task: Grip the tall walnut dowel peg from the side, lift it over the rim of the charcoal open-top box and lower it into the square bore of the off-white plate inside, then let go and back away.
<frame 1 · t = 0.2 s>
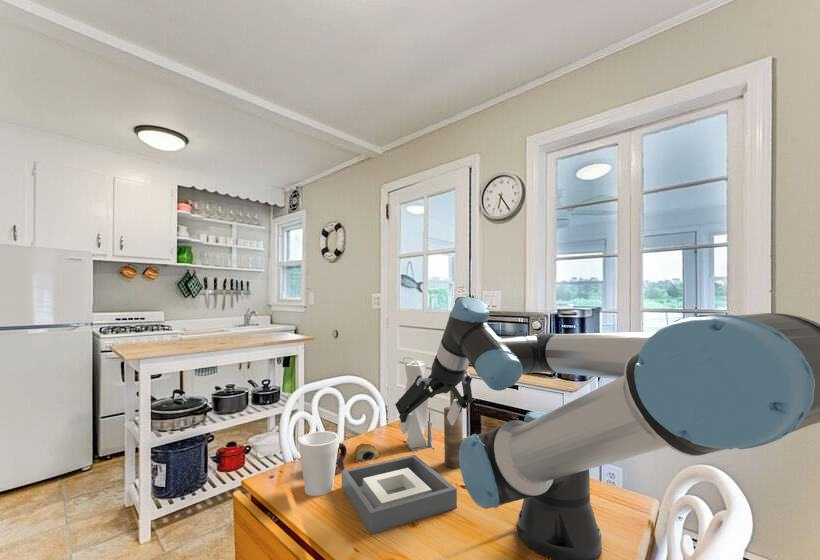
hand: (426, 425, 94), 15 cm above the table, tool tilted 35°, fingers open, 13 cm apart
foam cup: (318, 493, 90), on the table
pastry: (365, 458, 110), on the table
walnut peg: (453, 468, 103), on the table
bore plate: (396, 497, 86), resting on open box
open box: (396, 501, 86), on the table
skyscraper: (416, 446, 118), on the table
pottery mug: (329, 472, 101), on the table
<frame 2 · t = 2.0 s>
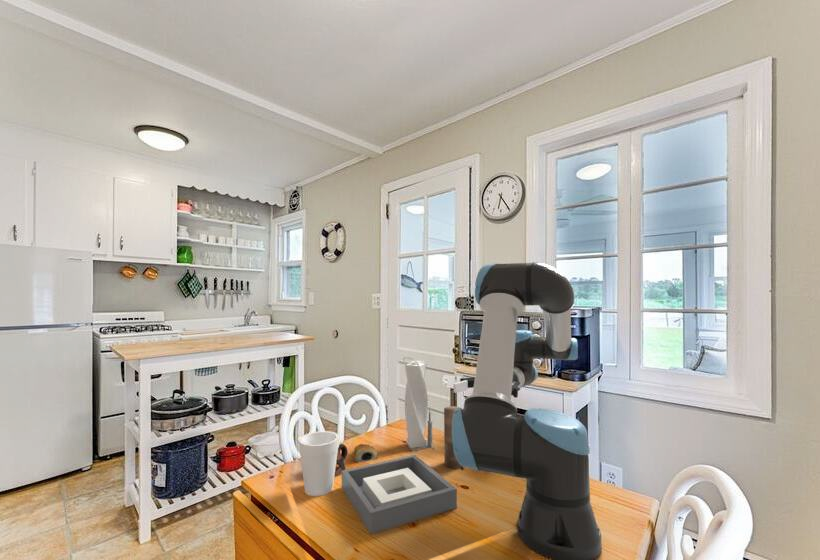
hand: (472, 392, 111), 19 cm above the table, tool horizontal, fingers open, 13 cm apart
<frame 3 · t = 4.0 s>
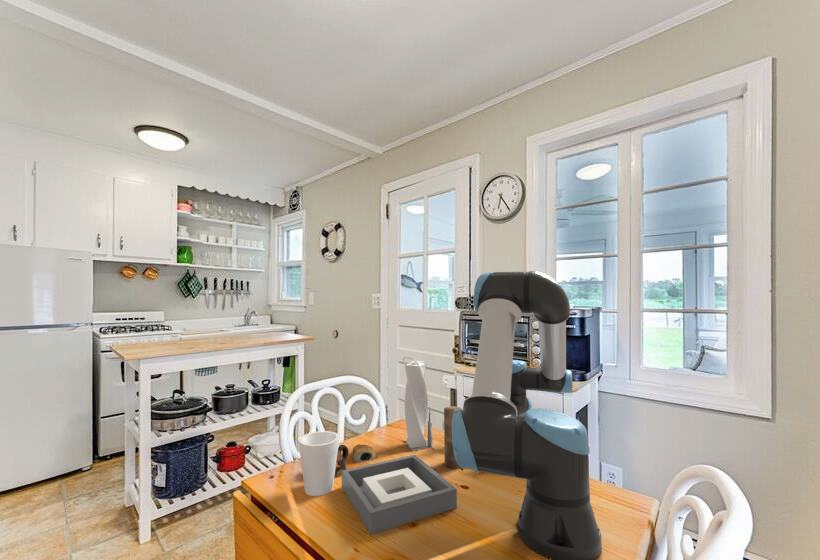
hand: (462, 430, 107), 9 cm above the table, tool horizontal, fingers open, 13 cm apart
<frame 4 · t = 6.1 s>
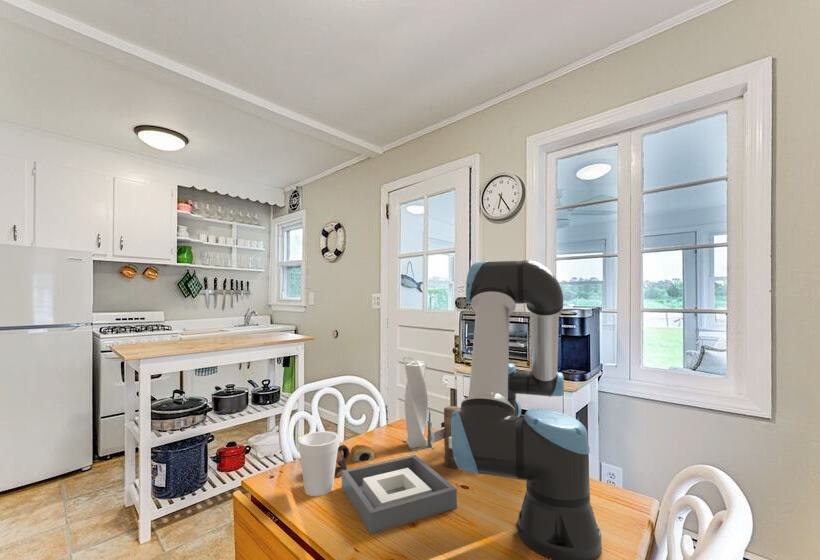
hand: (441, 440, 99), 9 cm above the table, tool horizontal, fingers closed on walnut peg, 5 cm apart
walnut peg: (453, 468, 103), on the table, touching gripper
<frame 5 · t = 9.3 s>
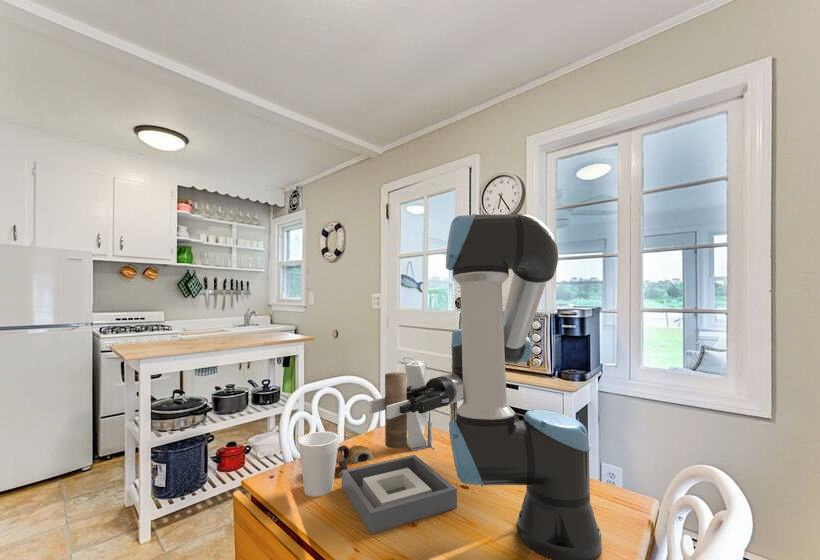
hand: (379, 409, 83), 22 cm above the table, tool horizontal, fingers closed on walnut peg, 5 cm apart
walnut peg: (396, 444, 87), point 13 cm above the table, touching gripper
when the fingers open (11 cm above the table, at t = 12.4 s): walnut peg drops 1 cm, resting on open box.
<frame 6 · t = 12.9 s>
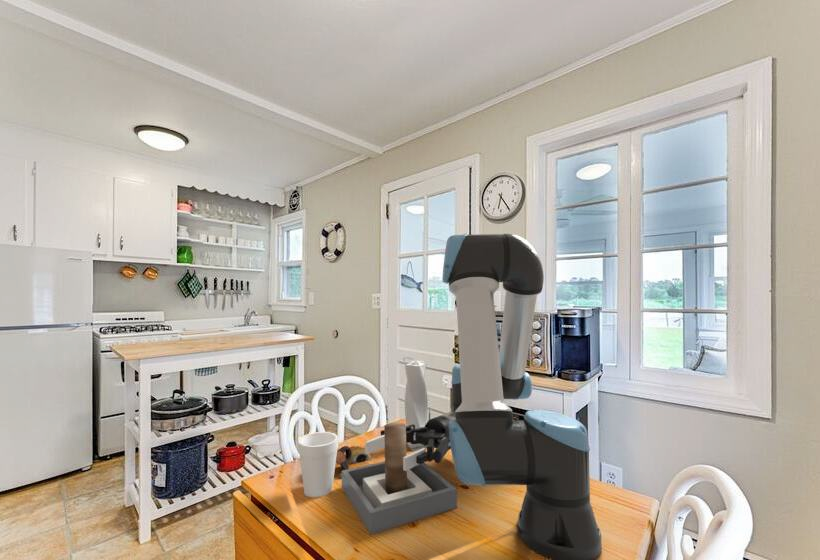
hand: (384, 455, 84), 11 cm above the table, tool horizontal, fingers open, 12 cm apart
walnut peg: (396, 496, 86), point 1 cm above the table, touching open box
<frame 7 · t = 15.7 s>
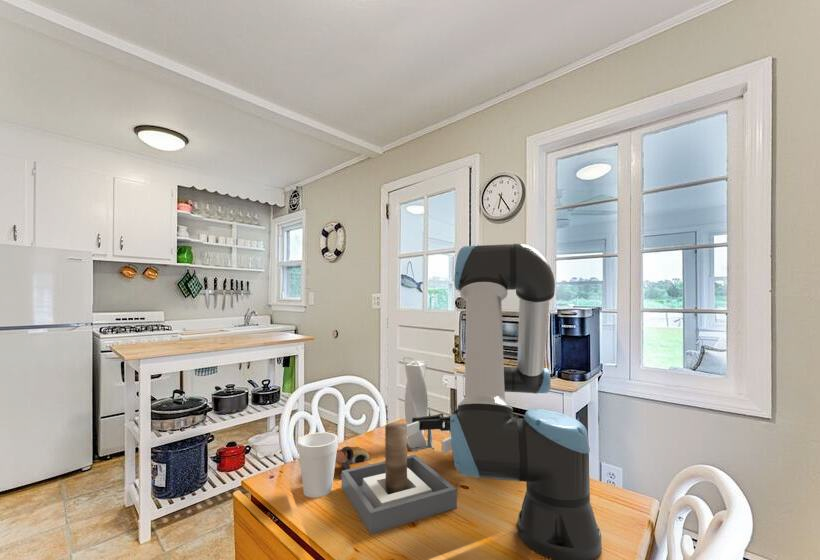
hand: (421, 439, 93), 12 cm above the table, tool horizontal, fingers open, 13 cm apart
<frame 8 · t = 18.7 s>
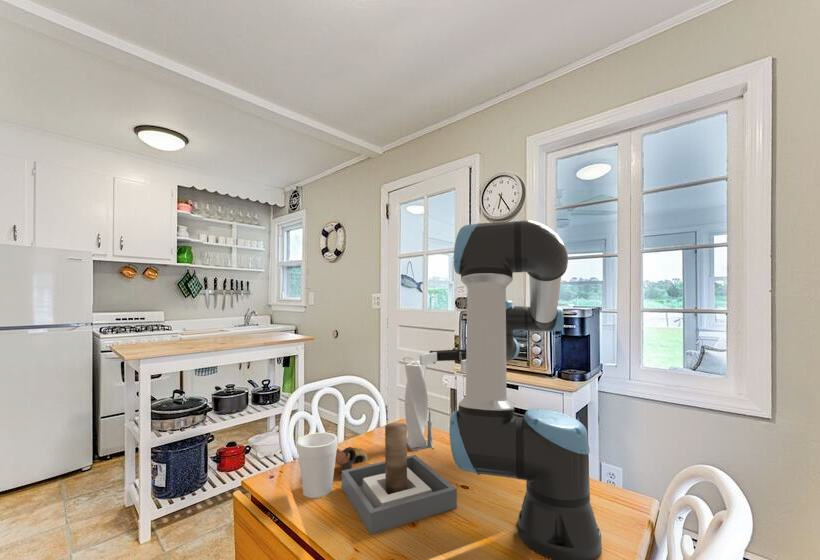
hand: (440, 363, 96), 30 cm above the table, tool horizontal, fingers open, 13 cm apart
at the end: walnut peg 0.1 cm off-centre on the bore plate, point 0.0 cm above the bore plate's base; walnut peg tilted 0°; the gripper is holding nothing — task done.
